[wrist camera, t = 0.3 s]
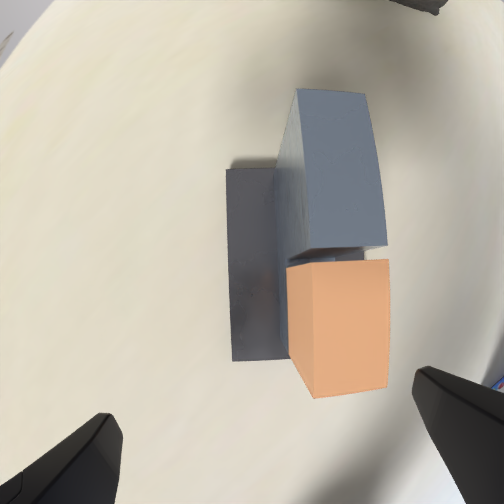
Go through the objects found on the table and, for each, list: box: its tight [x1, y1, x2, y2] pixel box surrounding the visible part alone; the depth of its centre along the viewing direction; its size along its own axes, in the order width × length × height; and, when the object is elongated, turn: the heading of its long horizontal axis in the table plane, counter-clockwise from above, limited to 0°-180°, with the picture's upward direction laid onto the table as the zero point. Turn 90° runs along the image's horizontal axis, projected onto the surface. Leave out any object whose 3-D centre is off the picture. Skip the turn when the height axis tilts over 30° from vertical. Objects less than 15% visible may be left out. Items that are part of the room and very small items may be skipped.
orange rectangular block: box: [286, 259, 390, 399], centre depth 14 cm, size 5×3×7 cm, turn 2°
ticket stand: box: [226, 89, 388, 361], centre depth 17 cm, size 14×10×12 cm
